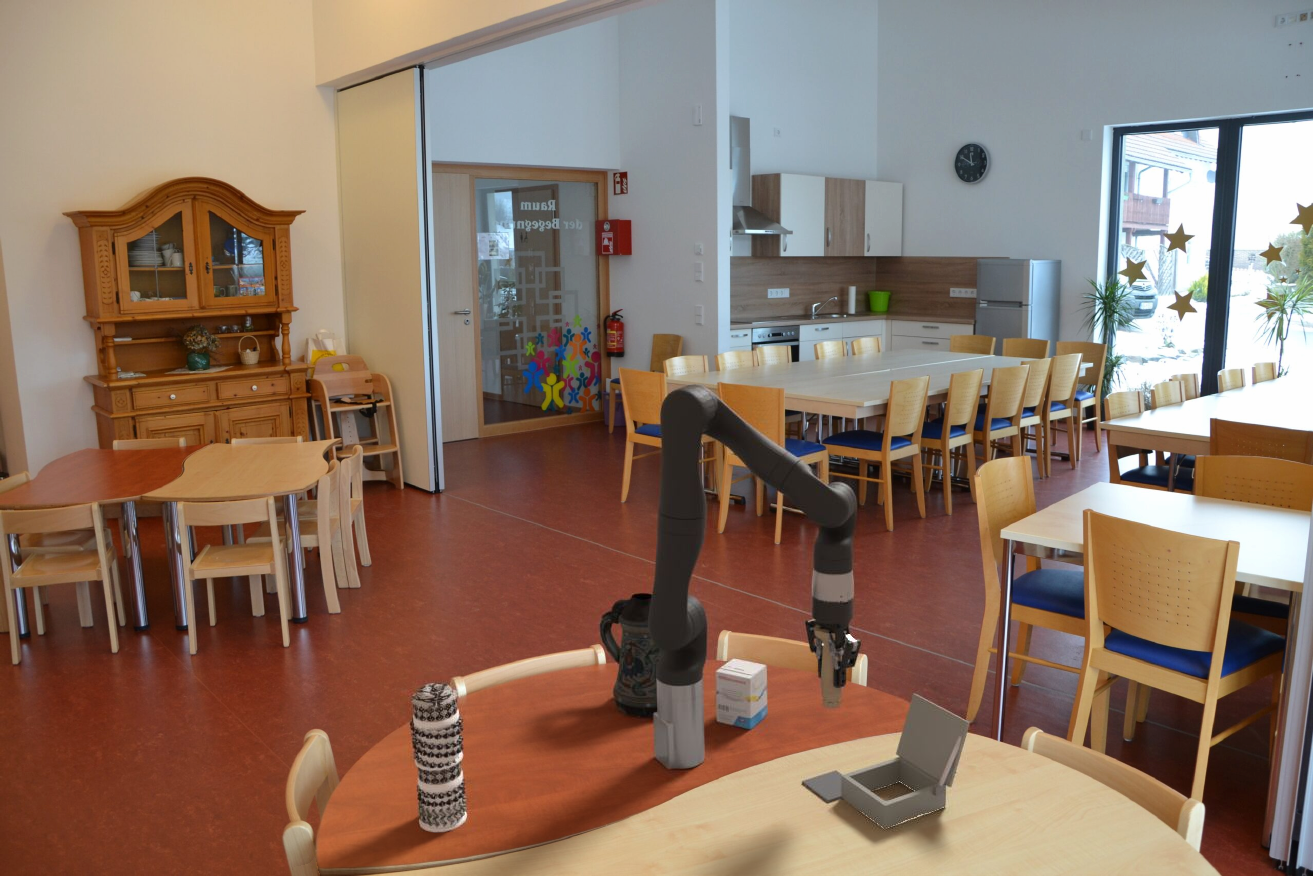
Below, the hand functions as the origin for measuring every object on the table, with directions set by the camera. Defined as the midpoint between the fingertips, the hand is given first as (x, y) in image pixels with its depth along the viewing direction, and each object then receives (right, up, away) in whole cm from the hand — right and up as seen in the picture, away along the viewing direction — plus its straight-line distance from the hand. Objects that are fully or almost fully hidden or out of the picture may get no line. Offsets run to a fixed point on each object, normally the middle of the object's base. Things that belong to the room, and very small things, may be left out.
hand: (831, 681), depth 181 cm
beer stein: (-35, -15, +42) cm, 57 cm away
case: (+13, -21, -2) cm, 25 cm away
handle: (0, -5, +1) cm, 5 cm away
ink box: (-14, -16, +33) cm, 39 cm away
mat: (+1, -21, +3) cm, 21 cm away
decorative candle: (-71, -24, -4) cm, 75 cm away
